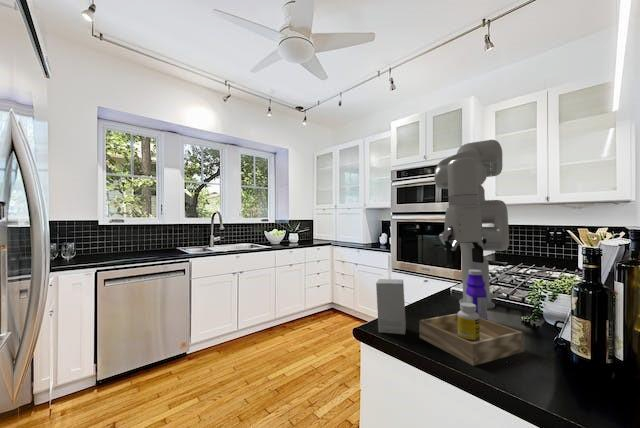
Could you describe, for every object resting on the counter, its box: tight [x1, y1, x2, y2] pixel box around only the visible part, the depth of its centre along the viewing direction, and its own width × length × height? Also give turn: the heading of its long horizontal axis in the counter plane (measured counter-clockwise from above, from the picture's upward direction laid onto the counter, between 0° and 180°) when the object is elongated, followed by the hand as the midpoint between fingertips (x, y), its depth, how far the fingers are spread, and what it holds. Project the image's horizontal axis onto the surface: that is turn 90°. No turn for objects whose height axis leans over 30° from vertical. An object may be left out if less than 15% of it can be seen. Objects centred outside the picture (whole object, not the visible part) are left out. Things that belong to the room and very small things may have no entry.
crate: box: [418, 312, 525, 367], centre depth 77 cm, size 18×18×5 cm
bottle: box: [466, 270, 488, 320], centre depth 94 cm, size 7×6×17 cm
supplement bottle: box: [457, 303, 480, 342], centre depth 78 cm, size 5×5×10 cm
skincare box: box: [375, 278, 407, 335], centre depth 88 cm, size 8×7×16 cm
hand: (465, 263), depth 78 cm, fingers open, 9 cm apart
